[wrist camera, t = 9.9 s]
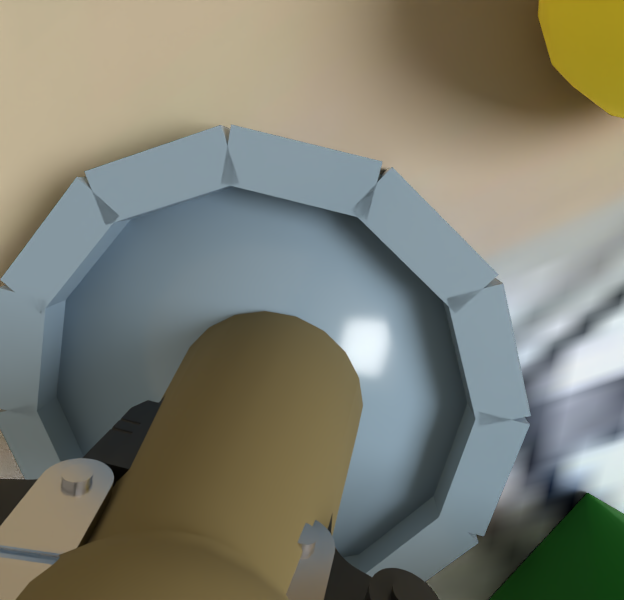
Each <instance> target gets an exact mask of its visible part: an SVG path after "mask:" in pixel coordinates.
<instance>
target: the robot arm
mask: <svg viewBox="0 0 624 600" xmlns="http://www.w3.org/2000/svg"><path fill="white" fill-rule="evenodd" d="M164 397H165V396H164ZM164 397H163V398H162V400H161V401H160V402H159V403H157V402H154V401H150V400H147V401H145V402H142V403H140V404H138V405H136V406H133V407H131V408H130V409H129V410H128V411H127V412H126V414H125V415H124V416H123V417H122V418H121V420H119V421H118V422H117V423H116V424H115V425H114V426H113V427H112V429H110V430H109V431H108V432H107V433H106V434H105V435H104V436H103V437H102V438H101V439H100V440H99V441H98V442H97V443H96V444H95V445H94V446H93V447H92V448H91V449H90V450H89V451H88V452H87V454H86V455H85V456H84V457H83V458H77V459H70V460H65V461H62V462H59V463H57V464H55V465H53V466H51V467H49V468H48V469H47V470H45V472H44V473H43V474H42V475H41V476H40V477H39V478H38V479H30V480H23V479H0V600H16V598H17V597H18V596H19V595H20V593H21V592H22V591H23V590H24V588H25V587H26V586H27V585H28V583H29V582H30V581H32V580H33V579H34V578H36V577H37V576H38V575H40V574H41V573H42V572H44V571H45V570H47V569H48V568H49V567H50V566H52V565H53V564H54V563H55V562H56V561H57V560H58V559H59V558H60V556H58V555H60V554H63V553H65V552H68V551H70V550H73V549H75V548H78V547H81V546H83V545H86V544H87V543H88V541H89V539H90V537H91V535H92V533H93V532H94V530H95V528H96V526H97V524H98V522H99V520H100V518H101V516H102V514H103V512H104V510H105V508H106V507H107V505H108V503H109V501H110V499H111V495H112V489H113V487H114V486H115V484H116V482H117V481H118V480H119V479H120V478H121V477H122V476H123V475H124V474H125V473H126V472H127V471H128V470H129V469H130V467H131V465H132V463H133V461H134V459H135V457H136V455H137V453H138V451H139V449H140V447H141V445H142V443H143V441H144V438H145V436H146V434H147V432H148V430H149V428H150V426H151V424H152V422H153V420H154V418H155V416H156V414H157V412H158V410H159V408H160V406H161V404H162V401H163V399H164ZM331 527H332V516H331V519H330V523H329V526H328V529H327V528H326V527H325V526H324V525H322V524H321V523H320V522H318V521H317V520H315V522H314V524H313V526H311V525H310V524H307V523H305V526H304V528H303V530H302V533H301V535H300V538H299V540H298V544H299V546H300V548H301V549H302V551H303V552H302V555H301V557H300V560H299V562H298V565H297V567H296V570H295V572H294V575H293V577H292V580H291V583H290V585H289V588H288V590H287V593H286V595H287V597H288V598H289V600H439V599H438V597H437V596H436V594H435V593H434V591H433V590H432V589H431V588H430V586H429V585H428V584H427V583H426V582H424V581H423V580H422V579H421V578H419V577H418V576H416V575H415V574H413V573H411V572H408V571H406V570H403V569H399V568H385V569H382V570H380V571H378V572H377V573H375V574H374V576H373V577H371V576H369V575H367V574H366V573H364V572H362V571H360V570H359V569H357V568H355V567H354V566H352V565H351V564H350V563H348V562H347V561H346V560H345V559H344V558H343V557H342V556H341V555H340V553H339V552H338V551H337V549H336V547H335V542H334V539H333V537H332V535H331Z"/></svg>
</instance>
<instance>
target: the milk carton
mask: <svg viewBox="0 0 624 600" xmlns="http://www.w3.org/2000/svg"><path fill="white" fill-rule="evenodd" d="M489 600H624V514H623V513H621V512H620V511H618V510H616V509H615V508H613V507H611V506H610V505H608V504H606V503H604V502H603V501H601V500H599V499H598V498H596V497H594V496H593V495H591V494H589V493H586V495H585V496H584V497H583V498H582V499H581V500H580V501H579V502H578V503H577V505H576V506H575V507H574V508H573V509H572V510H571V511H570V512H569V513H568V514H567V515H566V516H565V518H564V519H563V520H562V521H561V522H560V523H559V524H558V525H557V526H556V527H555V528H554V529H553V531H552V532H551V533H550V534H549V535H548V536H547V537H546V538H545V539H544V540H543V541H542V542H541V544H540V545H539V546H538V547H537V548H536V549H535V550H534V551H533V552H532V553H531V554H530V555H529V556H528V558H527V559H526V560H525V561H524V562H523V563H522V564H521V565H520V566H519V567H518V568H517V569H516V571H515V572H514V573H513V574H512V575H511V576H510V577H509V578H508V579H507V580H506V581H505V583H504V584H503V585H502V586H501V587H500V588H499V589H498V590H497V591H496V592H495V593H494V594H493V596H492V597H491V598H490V599H489Z"/></svg>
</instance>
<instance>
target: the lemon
mask: <svg viewBox="0 0 624 600" xmlns="http://www.w3.org/2000/svg"><path fill="white" fill-rule="evenodd" d="M538 18H539V22H540V25H541V28H542V32H543V35H544V39H545V42H546V46H547V49H548V53H549V56H550V60H551V63H552V65H553V66H554V67H555V68H556V69H557V70H558V71H559V73H560V74H561V75H562V76H563V77H564V78H565V79H566V80H567V81H568V82H569V83H570V84H571V85H572V86H573V87H574V88H575V89H577V90H578V91H579V92H581V93H582V94H583V95H585V96H586V97H587V98H589V99H590V100H591V101H593V102H594V103H595V104H597V105H598V106H599V107H601V108H602V109H603V110H604V111H606V112H607V113H608V114H610V115H612V116H617V117H621V118H624V0H539V7H538Z"/></svg>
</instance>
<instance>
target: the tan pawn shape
mask: <svg viewBox="0 0 624 600" xmlns="http://www.w3.org/2000/svg"><path fill="white" fill-rule="evenodd" d="M164 396H165V397H164ZM163 397H164V399H163V401H162V404H161V406H160V408H159V410H158V412H157V414H156V416H155V418H154V420H153V422H152V424H151V426H150V428H149V430H148V432H147V434H146V436H145V438H144V441H143V443H142V445H141V447H140V449H139V451H138V453H137V455H136V457H135V459H134V461H133V463H132V465H131V467H130V469H129V470H128V471H127V472H126V473H125V474H124V475H123V476H122V477H121V478H120V479H119V480H118V481H117V482H116V484H115V486H114V487H113V489H112V495H111V499H110V501H109V503H108V505H107V507H106V508H105V510H104V512H103V514H102V516H101V518H100V520H99V522H98V524H97V526H96V528H95V530H94V532H93V533H92V535H91V537H90V539H89V541H88V543H87V544H86V545H83V546H81V547H78V548H75V549H73V550H70V551H68V552H65V553H63V554H60V555H58V556H60V558H59V559H58V560H57V561H56V562H55V563H54V564H53V565H52V566H50V567H49V568H48V569H47V570H45V571H44V572H42V573H41V574H40V575H38V576H37V577H36V578H34V579H33V580H32V581H30V582H29V583H28V585H27V586H26V587H25V588H24V590H23V591H22V592H21V593H20V595H19V596H18V597H17V598H16V600H289V598H288V597H287V595H286V593H287V590H288V588H289V585H290V583H291V580H292V577H293V575H294V572H295V570H296V567H297V565H298V562H299V560H300V557H301V555H302V552H303V551H302V549H301V548H300V546H299V544H298V540H299V538H300V535H301V533H302V530H303V528H304V526H305V523H307V524H310V525H311V526H313V524H314V522H315V520H317V521H318V522H320V523H321V524H322V525H324V526H325V527H326V528H327V529H328V526H329V523H330V519H331V516H332V527H331V535H333V531H334V527H335V523H336V519H337V515H338V511H339V506H340V502H341V498H342V494H343V490H344V486H345V482H346V477H347V473H348V469H349V465H350V461H351V457H352V453H353V448H354V444H355V440H356V436H357V432H358V427H359V422H360V418H361V413H362V408H363V401H362V394H361V387H360V380H359V377H358V375H357V373H356V371H355V369H354V367H353V365H352V363H351V361H350V359H349V357H348V356H347V354H346V352H345V351H344V350H343V349H342V348H341V347H340V346H339V345H338V344H337V343H336V342H335V341H334V340H333V339H332V338H331V337H330V336H329V335H328V334H327V333H326V332H325V331H324V330H322V329H320V328H318V327H316V326H314V325H312V324H310V323H308V322H306V321H304V320H302V319H300V318H298V317H296V316H291V315H285V314H280V313H274V312H268V311H261V312H253V313H245V314H237V315H234V316H232V317H230V318H228V319H225V320H223V321H221V322H219V323H217V324H215V325H213V326H211V327H209V328H208V329H207V330H206V331H205V332H204V333H203V334H202V335H201V336H200V337H199V338H198V339H197V340H196V341H195V342H194V343H193V344H192V345H191V346H190V347H189V349H188V351H187V353H186V355H185V357H184V358H183V360H182V362H181V364H180V366H179V368H178V369H177V371H176V373H175V375H174V377H173V379H172V381H171V382H170V384H169V386H168V388H167V390H166V392H165V393H164V395H163ZM163 397H162V398H163ZM161 400H162V399H161Z"/></svg>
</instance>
